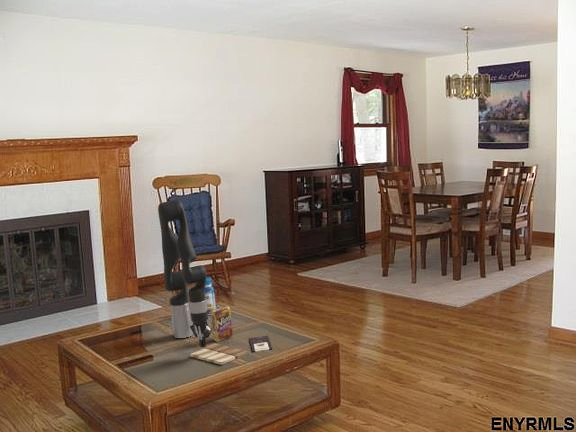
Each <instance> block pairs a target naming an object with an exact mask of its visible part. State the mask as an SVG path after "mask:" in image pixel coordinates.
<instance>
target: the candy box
mask: <svg viewBox="0 0 576 432" xmlns="http://www.w3.org/2000/svg"><path fill="white" fill-rule="evenodd" d="M231 313H232V312H231V307H229V306H227V305H226V306H222V307H219V308H216V309H214V310H211V315H210V317H211V328H212V336H213V337H212V338H213V341H215V342H216V343H218V342H222V341H224V340H228V339H232V338H233V336H234V335H233V325H232V324H233V323H232V314H231Z"/></svg>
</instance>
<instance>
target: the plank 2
mask: <svg viewBox="0 0 576 432" xmlns="http://www.w3.org/2000/svg"><path fill="white" fill-rule="evenodd" d="M234 360H236V358H235V356H232V355H228V354H224V353H221V352H219V353H217V354H215V355H212V356H210V357H208V358H206V360H205V361H206V362H210V363H213V364H217V365H220V366H223V365H225V364H227V363H230V362H231V361H234Z"/></svg>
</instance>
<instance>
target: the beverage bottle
mask: <svg viewBox="0 0 576 432" xmlns="http://www.w3.org/2000/svg"><path fill="white" fill-rule="evenodd" d="M212 284H213V283H212V278H211V277H206V283H205V299H206V304H207V312H208V316H211V310H214V309H217V308H216V307H217V306H216V299H215V295H216V294H215V292H214V291H215V289H214V287H213V285H212Z"/></svg>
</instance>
